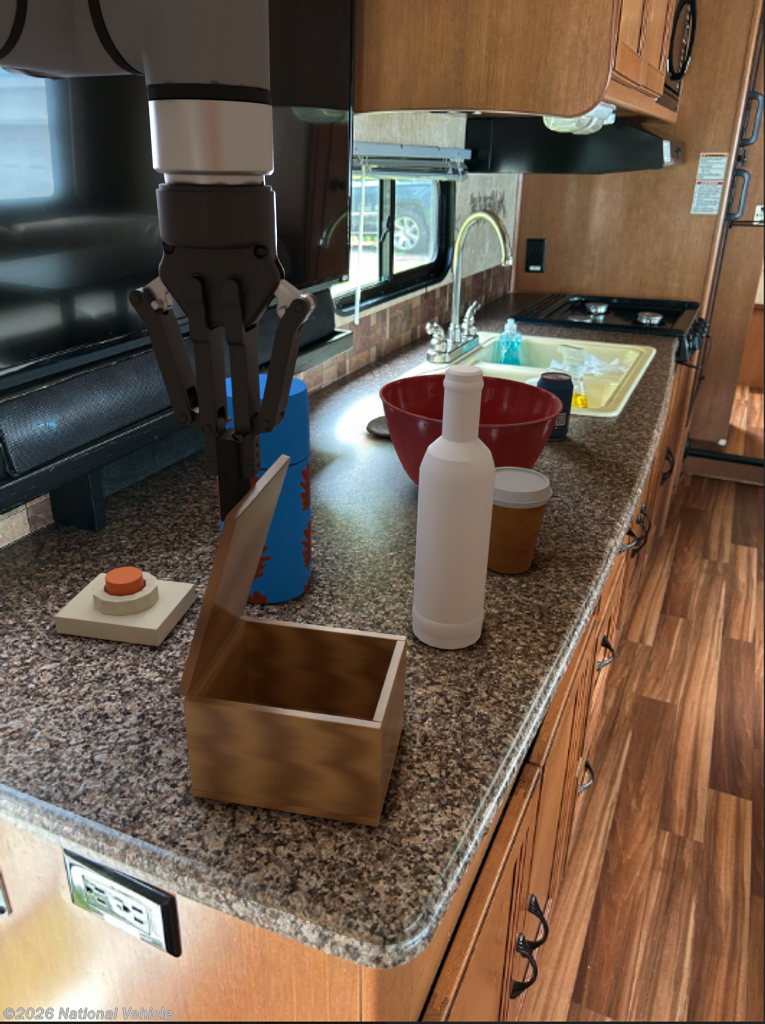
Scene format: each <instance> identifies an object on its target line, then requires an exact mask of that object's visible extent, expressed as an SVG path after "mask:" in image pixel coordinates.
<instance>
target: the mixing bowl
mask: <svg viewBox="0 0 765 1024" xmlns="http://www.w3.org/2000/svg"><path fill="white" fill-rule="evenodd" d="M445 375H446V373H437V374H436V373H435V374H423V375H422V374H421V375H414V376H407V377H402V378H399V379H396V380H393V381H390V382H388V383H386V384H384V385H383V386H381V388H380V389H379V392H378V396H379V399H380V400H381V404H382V408H383V413H384V416H385V418H386V423H387V427H388V430H389V434H390V437H389V438H390V440H391V443H392V445H393V448H394V450H395V451H394V452H395V453H396V456H397V458H398V460H399V462H400V464H401V466H402V468H403V470H404V471H405V473H406V475H407V476H408V478H409V479H410V480H411V481H412V482H413V483H414V484H415V485H417V486H418V487H419V472H420V466H421V463H422V460H423V458H424V456H425V453H426V451H427V449H428V447H429V445H431V444H432V443H433V442H434V441H435V440H437V439H438V438H439V437H440V436H442V426H443V409H444V392H445V388H444V385H443V382H444V379H445ZM483 382H484V386H483V389H482V392H481V404H480V417H479V430H478V438H479V439H480V440H481V441H482V442H483V443H484V444H485V445H486V446H487V447H488V449H489V450H490V451H491V454H492V458H493V461H494V465H495V468H498V467H519V468H526V469H530V470H532V468H533V467H534V465H535V464H536V463H537V461H538V459H539V457H540V456H541V455H542V452H543V451H544V449H545V447H546V445H547V443H548V439H549V436H550V434H551V432H552V429H553V427H554V425H555V422H556V419H557V417H558V414H559V413H560V412H561V411H562V409H563V404H562V402H561V400H560V399H559V398H558V397H557V396H555V395H554V394H552V393H551V392H549V391H546V390H544V389H542V388H539V387H537V385H533V384H530V383H526V382H522V381H518V380H514V379H509V378H503V377H497V376H487V375H483Z"/></svg>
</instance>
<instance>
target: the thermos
mask: <svg viewBox="0 0 765 1024" xmlns="http://www.w3.org/2000/svg"><path fill="white" fill-rule="evenodd" d="M267 374H268V373H267ZM267 374H265V373H264V374H263V373H262V374H261V373H259V383H260V403H261V405H262V400H263V395H264V390H265V385H266V380H267ZM226 393H227V409H228V418H229V417H232V419H231V421H230V422H229V423H228V424H227V425H226V430H227V429H228V428H234V418H233V403H232V387H231V376H230V377H226ZM310 427H311V426H310V398H309V392H308V386H307V382H305V381H303V380H301V379H300V378H296V377H293V379H292V384H291V388H290V393H289V398H288V403H287V407H286V412H285V417H284V419H283V421H282V422H281V423H280V424H279V425H278V426H277V427H276V428H275V429H274V430H272V431H271V432H269V433H261V434H260V451H261V468H260V471H259V473H258V474H257V475H256V476H255V477H254V478H253V479H250V482H251V488H252V487H253V486H254V485H255V484H256V483H257V482H258V480H259V479H260V478H261V477H262V476H263V475H264V474H265V473H266V472H267V470H268V469H269V468H270V467H271V466H272V465H273V464H274V463H275V462H276V460H277V459H278V458H279V457H280V456H281V455H282V454H283V455H286V456H289V457H290V458H291V459H290V462H289V465H288V468H287V472H286V475H285V478H284V482H283V485H282V488H281V491H280V495H279V498H278V501H277V504H276V508H275V511H274V514H273V517H272V521H271V524H270V527H269V531H268V534H267V537H266V540H265V544H264V547H263V550H262V553H261V557H260V560H259V563H258V566H257V570H256V573H255V576H254V580H253V583H252V586H251V589H250V593H249V596H248V599H247V602H246V603H252V604H267V605H268V604H271V605H272V604H275V603H276V604H277V603H282V602H283V603H284V602H287V601H289V600H292V599H295V598H297V597H299V596H300V595H302V594H303V593H305V592H306V591H307V589H308V588H309V586H310V584H311V576H312V557H313V555H312V506H311V505H312V504H311V503H312V499H311V498H312V495H311V490H312V489H311V454H310V453H311V436H310V435H311V433H310ZM216 486H217V500H218V514H219V516H218V517H219V528H220V534H221V533H222V529H223V525H224V522H225V521H221V512H220V498H219V484H218V476H216Z"/></svg>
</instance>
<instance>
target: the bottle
mask: <svg viewBox="0 0 765 1024" xmlns="http://www.w3.org/2000/svg"><path fill="white" fill-rule="evenodd" d="M445 374H446V375H445V379H444V382H443V385H444V388H445V392H444V409H443V426H442V436H440V437H439V438H438V439H437V440H435V441H434V442H433V443H432V444H431V445H429V447H428V449H427V451H426V453H425V456H424V458H423V460H422V463H421V466H420V472H419V486H418V496H417V497H418V498H417V516H416V517H417V518H416V519H417V520H416V536H415V537H416V539H415V560H414V580H413V581H414V583H413V601H412V602H413V604H412V607H411V619H412V623H411V628H412V631H413V635H414V636H415V637H416V638H417V639H418V640H419V641H420V642H422V643H424V644H426V645H428V646H430V647H433V648H437V649H441V650H459V649H465V648H467V647H469V646H471V645H474V644H475V643H476V642H477V641H478V640H479V639H480V638H481V634H482V628H483V623H484V616H485V608H484V607H485V606H484V605H485V594H486V585H487V584H486V583H487V572H488V567H487V562H488V551H489V540H490V529H491V518H492V507H493V496H494V485H495V474H496V470H495V465H494V461H493V458H492V454H491V451H490V450H489V449H488V447H487V446H486V445H485V444H484V443H483V442H482V441H481V440H480V439H479V438H478V430H479V417H480V404H481V392H482V389H483V386H484V382H483V376H484V371H483V370H482V369H481V368H480V367H479V366H476V365H470V364H454V365H450V366H448V367H447V368H446V369H445Z"/></svg>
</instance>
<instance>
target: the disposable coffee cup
mask: <svg viewBox="0 0 765 1024" xmlns="http://www.w3.org/2000/svg"><path fill="white" fill-rule="evenodd" d="M495 470H496V474H495V485H494V496H493V507H492V518H491V529H490V540H489V551H488V562H487V569H489V570H491V571H494V572H495V573H496V572H497V573H501V574H507V575H515V574H517V575H518V574H521V573H525V572H526V571H528V570H529V569H530V568H531V565H532V562H533V557H534V554H535V550H536V546H537V542H538V538H539V535H540V531H541V528H542V522H543V521H544V515H545V512H546V508H547V504H548V502H549V501H550V498H551V497H552V496H553V489H552V487H551V482H550V479H549V478H548V477H547V476H546V475H545V474H544V473H542V472H539V471H537V470H534V469H531V470H530V469H526V468H519V467H498V468H495Z"/></svg>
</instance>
